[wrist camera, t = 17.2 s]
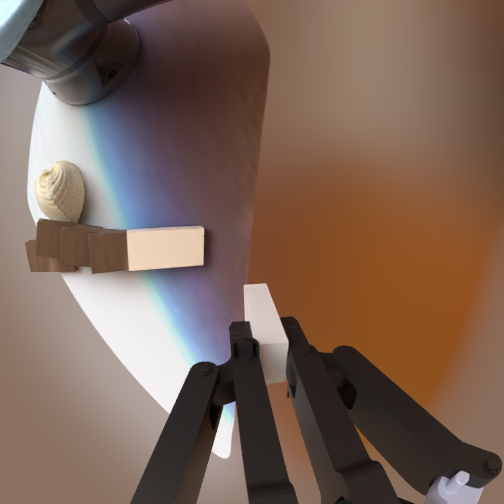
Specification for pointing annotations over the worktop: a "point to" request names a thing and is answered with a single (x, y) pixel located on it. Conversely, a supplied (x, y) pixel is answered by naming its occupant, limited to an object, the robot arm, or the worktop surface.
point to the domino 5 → (165, 247)
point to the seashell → (61, 192)
